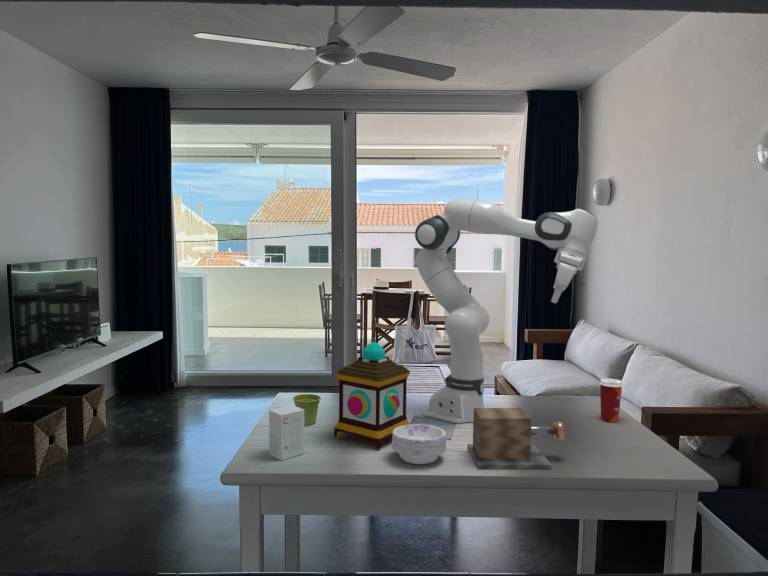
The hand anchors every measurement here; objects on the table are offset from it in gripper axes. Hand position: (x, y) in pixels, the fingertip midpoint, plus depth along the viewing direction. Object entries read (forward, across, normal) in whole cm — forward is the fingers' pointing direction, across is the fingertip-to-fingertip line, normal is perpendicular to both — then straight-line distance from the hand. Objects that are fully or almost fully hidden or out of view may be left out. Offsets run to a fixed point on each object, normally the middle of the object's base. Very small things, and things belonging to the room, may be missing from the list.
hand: (553, 302), depth 175 cm
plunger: (+39, +17, +7) cm, 43 cm away
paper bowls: (+55, +26, -19) cm, 64 cm away
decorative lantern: (+59, +13, -37) cm, 71 cm away
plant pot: (+66, +6, -61) cm, 90 cm away
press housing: (+47, +18, +3) cm, 50 cm away
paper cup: (+31, -29, +32) cm, 53 cm away
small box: (+68, +34, -54) cm, 93 cm away
